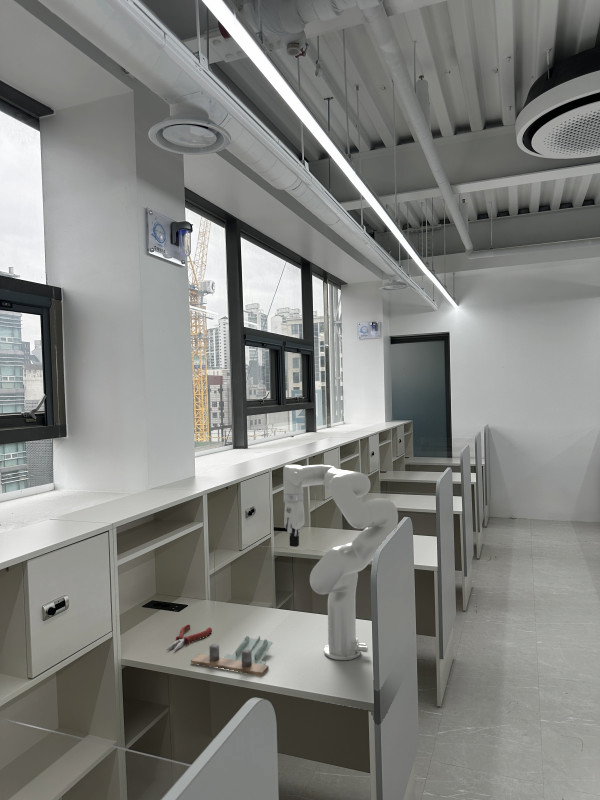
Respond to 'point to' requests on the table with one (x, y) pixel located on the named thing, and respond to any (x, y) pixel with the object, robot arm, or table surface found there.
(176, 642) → the pliers
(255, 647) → the metal bracket
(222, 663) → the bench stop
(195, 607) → the table surface
